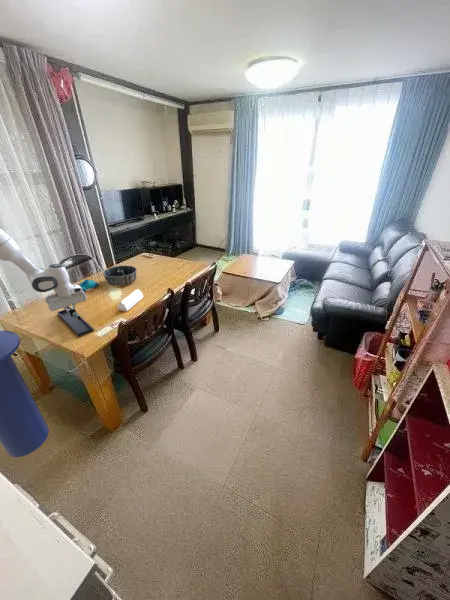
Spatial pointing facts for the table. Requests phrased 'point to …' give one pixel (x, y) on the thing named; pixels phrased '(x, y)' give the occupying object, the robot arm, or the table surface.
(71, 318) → the knife tray
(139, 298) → the white triangular prism
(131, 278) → the bundt pan
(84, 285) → the toy car
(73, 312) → the knife
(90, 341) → the table surface
